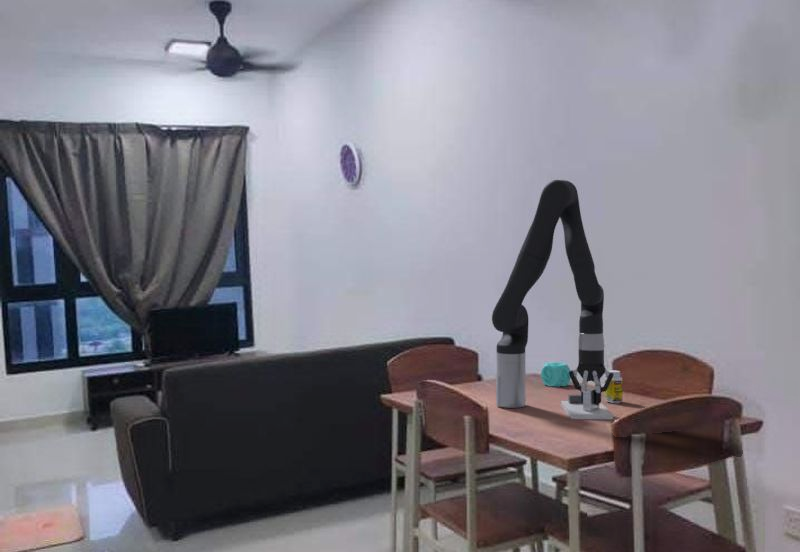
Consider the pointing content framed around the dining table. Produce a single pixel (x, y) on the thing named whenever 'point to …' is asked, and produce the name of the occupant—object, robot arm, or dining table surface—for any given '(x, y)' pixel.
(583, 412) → the base
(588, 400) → the white orange box
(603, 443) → the dining table surface
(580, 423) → the dining table surface
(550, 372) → the decorative dice
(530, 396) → the dining table surface
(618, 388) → the supplement bottle
